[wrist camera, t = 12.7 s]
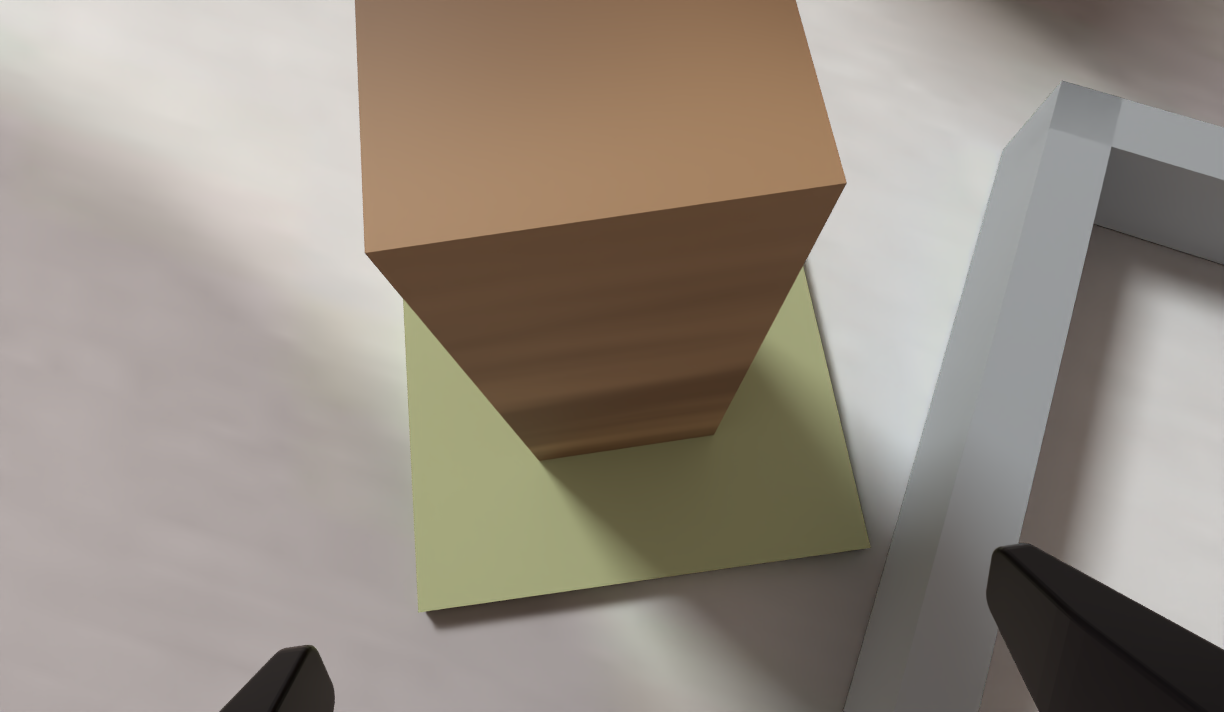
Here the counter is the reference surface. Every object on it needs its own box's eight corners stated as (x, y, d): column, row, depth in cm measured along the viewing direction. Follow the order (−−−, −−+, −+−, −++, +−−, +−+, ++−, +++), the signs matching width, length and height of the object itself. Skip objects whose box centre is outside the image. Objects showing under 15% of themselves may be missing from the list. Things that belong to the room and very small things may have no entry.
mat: (864, 548, 17) (870, 547, 17) (424, 611, 17) (418, 612, 17) (773, 166, 21) (777, 156, 20) (404, 217, 21) (398, 209, 20)
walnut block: (713, 434, 18) (847, 183, 7) (539, 460, 18) (364, 252, 6) (683, 275, 19) (749, -166, 8) (521, 298, 19) (350, -110, 8)
